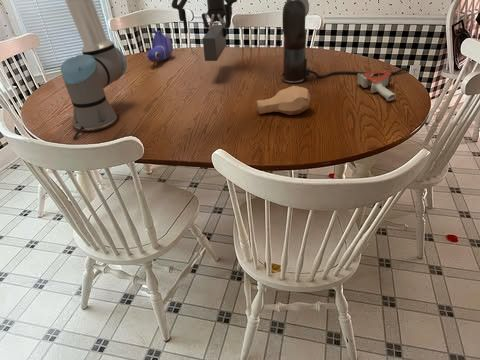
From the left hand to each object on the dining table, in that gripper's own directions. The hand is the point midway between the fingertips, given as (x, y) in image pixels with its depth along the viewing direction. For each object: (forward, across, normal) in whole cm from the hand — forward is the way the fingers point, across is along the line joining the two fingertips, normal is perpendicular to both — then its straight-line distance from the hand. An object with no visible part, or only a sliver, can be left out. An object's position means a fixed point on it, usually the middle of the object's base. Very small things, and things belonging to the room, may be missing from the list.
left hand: (207, 29), depth 114 cm
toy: (+31, +15, -75) cm, 82 cm away
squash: (+31, -25, +5) cm, 40 cm away
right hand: (+16, -13, -51) cm, 55 cm away
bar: (+20, -10, -44) cm, 49 cm away
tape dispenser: (+31, -66, 0) cm, 73 cm away
